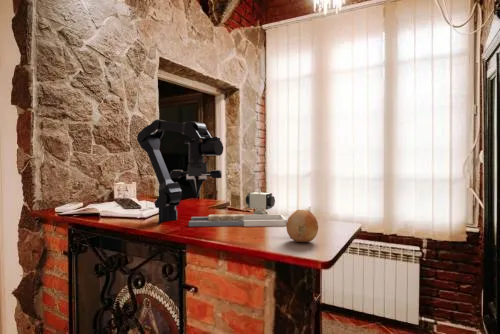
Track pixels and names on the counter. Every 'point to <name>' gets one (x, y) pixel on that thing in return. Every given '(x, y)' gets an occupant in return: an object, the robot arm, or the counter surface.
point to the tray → (264, 220)
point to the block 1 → (214, 217)
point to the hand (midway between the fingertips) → (196, 197)
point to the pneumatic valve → (260, 201)
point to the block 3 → (237, 216)
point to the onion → (302, 226)
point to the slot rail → (214, 222)
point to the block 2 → (225, 216)
